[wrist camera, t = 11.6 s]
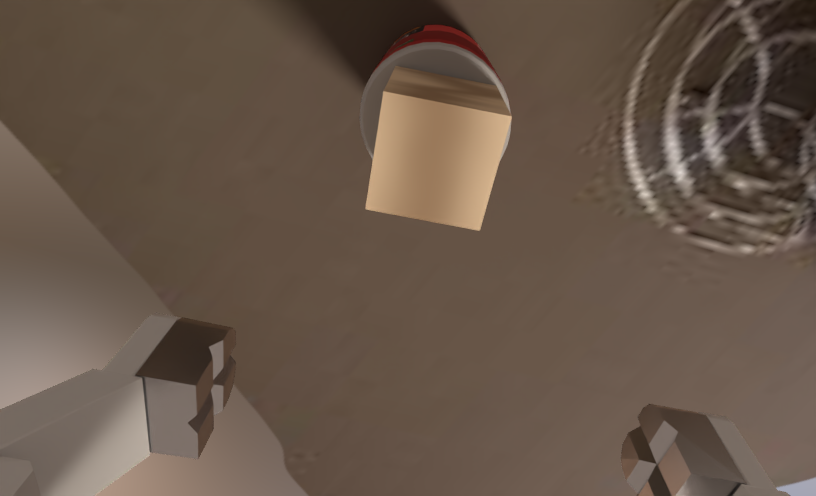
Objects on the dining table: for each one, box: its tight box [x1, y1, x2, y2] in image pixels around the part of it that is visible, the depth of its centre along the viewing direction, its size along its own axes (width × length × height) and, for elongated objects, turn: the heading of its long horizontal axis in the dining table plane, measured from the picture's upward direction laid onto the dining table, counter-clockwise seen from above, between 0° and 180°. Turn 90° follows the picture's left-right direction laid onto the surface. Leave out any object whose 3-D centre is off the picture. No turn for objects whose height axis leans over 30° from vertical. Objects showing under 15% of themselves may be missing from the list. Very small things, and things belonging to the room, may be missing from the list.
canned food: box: [360, 25, 511, 159], centre depth 30 cm, size 8×8×11 cm
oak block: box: [366, 66, 512, 231], centre depth 23 cm, size 5×5×6 cm
